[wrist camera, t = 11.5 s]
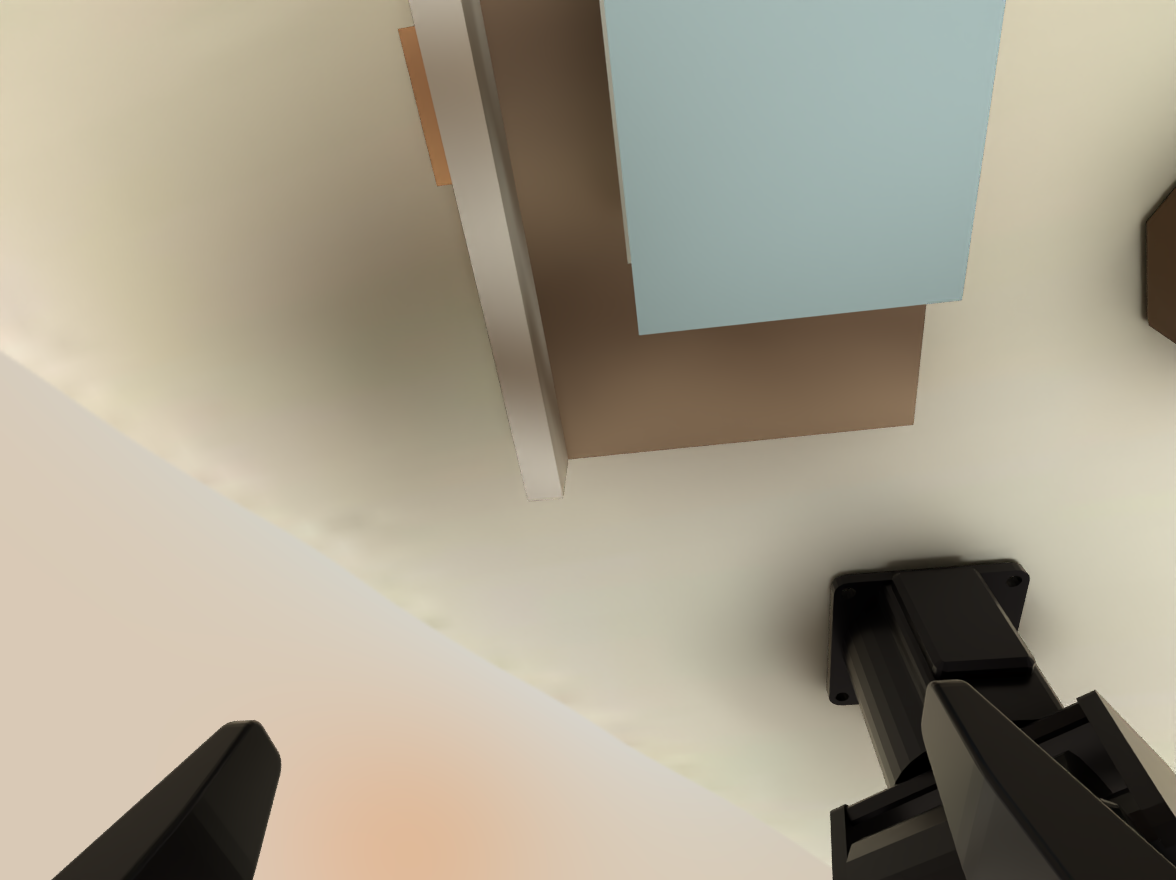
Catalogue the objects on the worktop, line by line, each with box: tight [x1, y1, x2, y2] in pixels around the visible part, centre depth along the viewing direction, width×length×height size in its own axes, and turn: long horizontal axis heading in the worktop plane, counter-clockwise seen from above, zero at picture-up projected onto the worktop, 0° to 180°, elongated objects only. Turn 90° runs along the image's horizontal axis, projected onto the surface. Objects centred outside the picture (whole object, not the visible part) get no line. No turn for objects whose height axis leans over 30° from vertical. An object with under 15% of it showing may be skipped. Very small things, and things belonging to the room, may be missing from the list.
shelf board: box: [398, 0, 926, 501], centre depth 15 cm, size 20×11×4 cm, turn 8°
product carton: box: [599, 0, 1006, 335], centre depth 12 cm, size 5×6×8 cm
